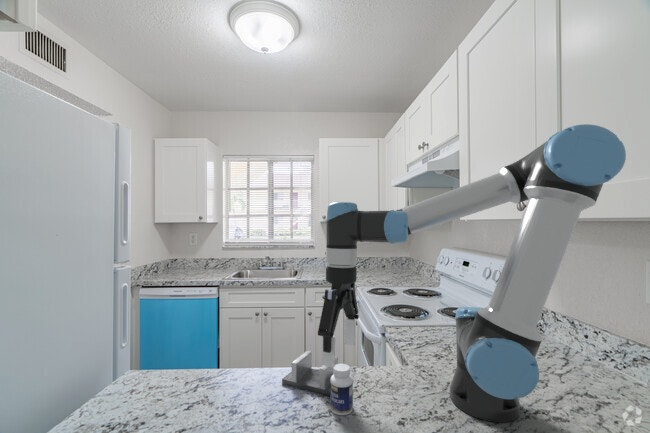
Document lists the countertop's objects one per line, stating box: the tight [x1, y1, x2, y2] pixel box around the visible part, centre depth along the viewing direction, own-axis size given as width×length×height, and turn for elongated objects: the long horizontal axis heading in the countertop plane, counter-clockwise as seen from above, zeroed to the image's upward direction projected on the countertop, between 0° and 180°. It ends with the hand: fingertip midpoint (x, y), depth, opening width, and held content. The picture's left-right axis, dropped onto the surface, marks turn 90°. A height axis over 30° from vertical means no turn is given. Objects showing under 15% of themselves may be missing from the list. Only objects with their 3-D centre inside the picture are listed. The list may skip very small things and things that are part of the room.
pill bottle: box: [329, 363, 354, 416], centre depth 69 cm, size 5×5×10 cm
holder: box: [281, 350, 339, 398], centre depth 81 cm, size 16×9×6 cm, turn 65°
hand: (339, 354), depth 70 cm, fingers open, 13 cm apart
